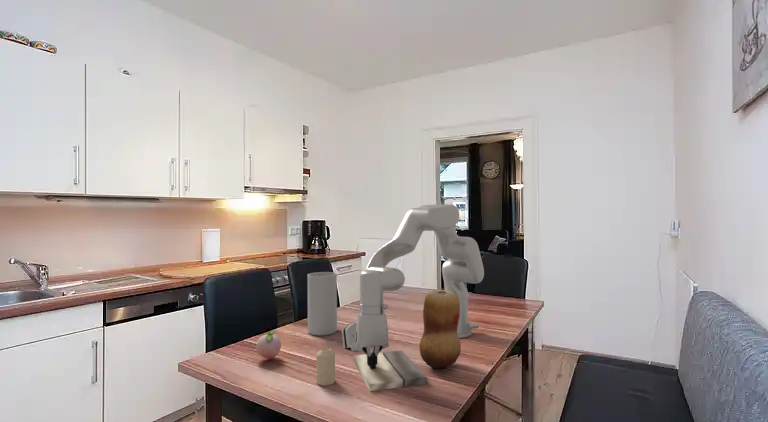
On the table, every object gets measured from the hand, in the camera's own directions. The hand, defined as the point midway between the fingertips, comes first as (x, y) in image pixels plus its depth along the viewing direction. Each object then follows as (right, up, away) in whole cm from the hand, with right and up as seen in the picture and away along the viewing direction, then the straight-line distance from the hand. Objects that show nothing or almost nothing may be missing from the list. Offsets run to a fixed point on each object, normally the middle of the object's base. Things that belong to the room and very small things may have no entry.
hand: (372, 367), depth 124 cm
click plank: (+1, -2, 0) cm, 2 cm away
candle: (-14, -2, -6) cm, 15 cm away
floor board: (+10, -2, +3) cm, 11 cm away
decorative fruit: (-37, -3, +13) cm, 39 cm away
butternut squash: (+22, -2, +5) cm, 23 cm away
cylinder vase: (-23, -3, +45) cm, 51 cm away
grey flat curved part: (-5, -3, +29) cm, 30 cm away
